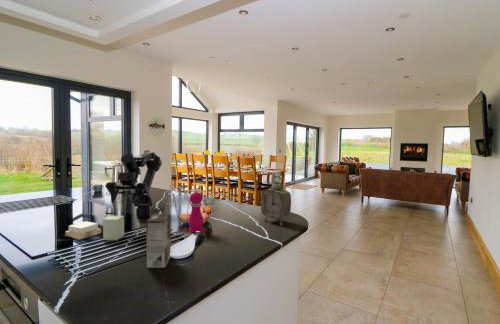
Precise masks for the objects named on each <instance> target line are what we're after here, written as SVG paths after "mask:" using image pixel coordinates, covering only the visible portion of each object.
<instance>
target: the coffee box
mask: <svg viewBox="0 0 500 324" xmlns="http://www.w3.org/2000/svg"><path fill="white" fill-rule="evenodd" d="M171 238H172V237H171V214H169V213H168V214H167V213H166V214H164V213H153V214H152V215H150V217H148V219H147V220H146V268H148V269H151V268H153V269H154V268H159V269H160V268H163V269H164V268H166V267H167V265H168V264H169V263H168V262H169V260H170V258H171V257H170V253H171V251H172V250H171V249H172V248H171V241H172V240H171ZM171 254H172V253H171Z"/></svg>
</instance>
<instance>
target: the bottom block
mask: <svg viewBox="0 0 500 324" xmlns="http://www.w3.org/2000/svg"><path fill="white" fill-rule="evenodd" d="M64 234H65V235H64V236H65V237H69V238H73V239H75V240H77V241H78V240H79V241H80V240H83V239H86V238H90V237H92V236H93V237H94V236H96V235H99V234H102V228H99V227H98V229H96V230H93V231H90V232H86V233H83V234H78V233H74V232H69V230H65V233H64Z"/></svg>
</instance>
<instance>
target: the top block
mask: <svg viewBox="0 0 500 324" xmlns="http://www.w3.org/2000/svg"><path fill="white" fill-rule="evenodd" d="M98 228H99V224H98V223H96V222H93V221H92V222H91V221H87V220H85V221H81V222H78V223H74V224H70V225H68V231H69V232H74V233H78V234H83V233H86V232H90V231H93V230H96V229H98Z"/></svg>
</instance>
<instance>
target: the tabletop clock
mask: <svg viewBox="0 0 500 324" xmlns="http://www.w3.org/2000/svg"><path fill="white" fill-rule="evenodd" d="M274 178H278V179H280V180H281V181H280V182H278V180H277V181H273V179H274ZM271 181H272V183H273V185H272V187H271V188H269V189H265V190H262V192H261V197H260V208H261V210H260V211H261V214H262V215H263V216H265V217H264V218H263V221H264V222H267V220H268V219H267V218H271V219H276V222H279V226H283V225H284V223H283V222H282V219H283V218H285V217H288V216H290V213H291V209H292V208H291V207H292V194H291V192H289V191H288V190H286V189H282V186H281V185H282V183H283V178H282V177H281V176H278V175H275V176H272V177H271Z"/></svg>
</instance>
